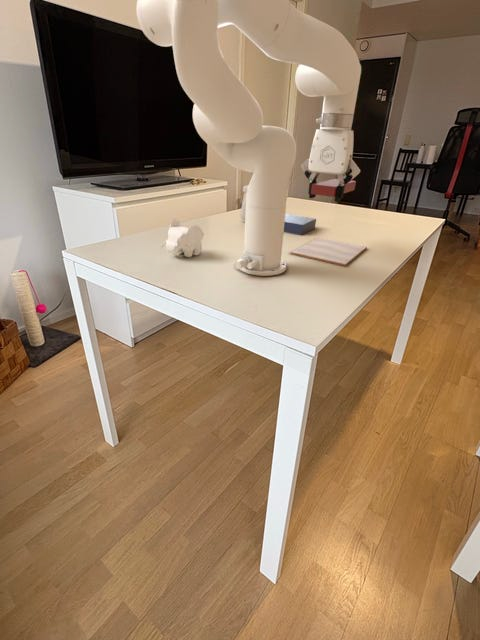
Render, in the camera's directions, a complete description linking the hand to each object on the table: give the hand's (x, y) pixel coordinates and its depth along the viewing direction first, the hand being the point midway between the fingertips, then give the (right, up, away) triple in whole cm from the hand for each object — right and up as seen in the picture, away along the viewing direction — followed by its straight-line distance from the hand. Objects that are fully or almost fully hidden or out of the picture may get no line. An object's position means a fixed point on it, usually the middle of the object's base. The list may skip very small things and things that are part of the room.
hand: (324, 198), depth 93 cm
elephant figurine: (-39, -15, +2) cm, 41 cm away
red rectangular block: (+4, +4, +4) cm, 7 cm away
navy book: (-6, +1, +33) cm, 33 cm away
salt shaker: (-20, +5, +39) cm, 44 cm away
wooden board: (+4, -12, +9) cm, 16 cm away
